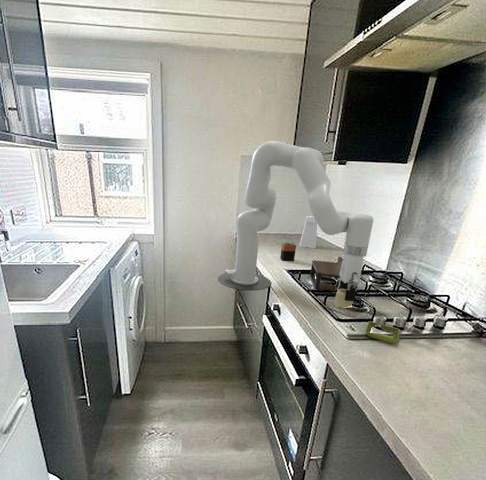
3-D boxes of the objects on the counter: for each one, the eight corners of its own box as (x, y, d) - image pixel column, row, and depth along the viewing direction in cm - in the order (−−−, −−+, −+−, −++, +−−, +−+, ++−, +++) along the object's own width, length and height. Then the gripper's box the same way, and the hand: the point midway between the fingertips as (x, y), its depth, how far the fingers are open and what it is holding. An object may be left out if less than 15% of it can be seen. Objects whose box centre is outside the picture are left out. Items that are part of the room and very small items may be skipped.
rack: (314, 291, 125) (318, 265, 122) (309, 276, 144) (313, 254, 140) (345, 294, 123) (350, 269, 120) (336, 279, 142) (340, 256, 138)
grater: (299, 243, 213) (303, 215, 207) (315, 245, 211) (320, 216, 204) (299, 246, 204) (304, 217, 197) (316, 248, 201) (321, 218, 195)
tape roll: (335, 307, 110) (338, 293, 108) (332, 301, 116) (335, 287, 114) (354, 310, 109) (357, 295, 107) (350, 303, 115) (353, 289, 113)
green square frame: (367, 326, 97) (368, 320, 97) (398, 334, 93) (400, 328, 92) (363, 337, 90) (365, 331, 90) (396, 347, 86) (398, 340, 85)
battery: (279, 258, 171) (282, 241, 168) (291, 259, 172) (293, 241, 169) (282, 260, 167) (284, 243, 164) (294, 261, 168) (296, 243, 165)
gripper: (339, 244, 114) (331, 286, 120) (349, 255, 98) (340, 303, 104) (360, 246, 113) (351, 288, 118) (374, 257, 97) (363, 306, 102)
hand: (346, 295), depth 111 cm, fingers open, 9 cm apart
